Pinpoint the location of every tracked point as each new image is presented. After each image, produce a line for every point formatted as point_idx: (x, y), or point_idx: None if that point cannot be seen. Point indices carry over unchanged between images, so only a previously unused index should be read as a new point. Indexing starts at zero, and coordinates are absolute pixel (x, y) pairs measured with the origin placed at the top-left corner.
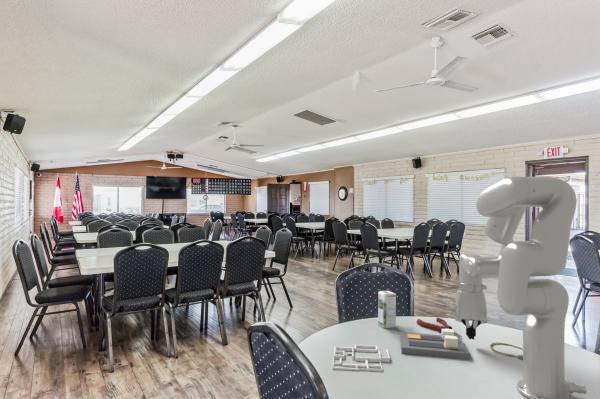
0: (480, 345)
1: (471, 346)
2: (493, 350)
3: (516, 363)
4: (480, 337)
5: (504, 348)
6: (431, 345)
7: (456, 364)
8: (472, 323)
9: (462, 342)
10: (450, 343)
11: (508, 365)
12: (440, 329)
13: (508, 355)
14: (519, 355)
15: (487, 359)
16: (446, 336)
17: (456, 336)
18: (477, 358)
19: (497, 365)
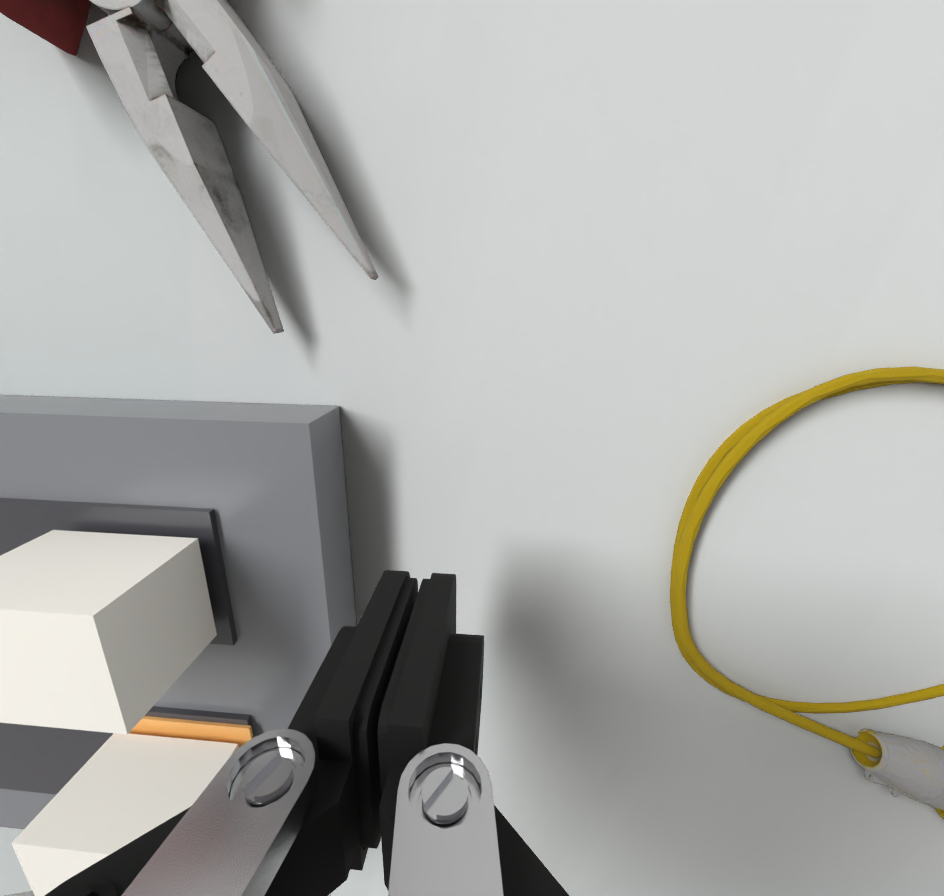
0: (577, 470)
1: (456, 522)
2: (675, 608)
3: (759, 831)
4: (706, 101)
5: (860, 514)
6: (10, 760)
7: None
8: (402, 857)
9: (322, 625)
10: None
11: (664, 863)
12: (6, 14)
13: (780, 708)
14: (888, 774)
15: (527, 787)
16: (46, 876)
17: (260, 424)
18: None
19: (571, 868)
